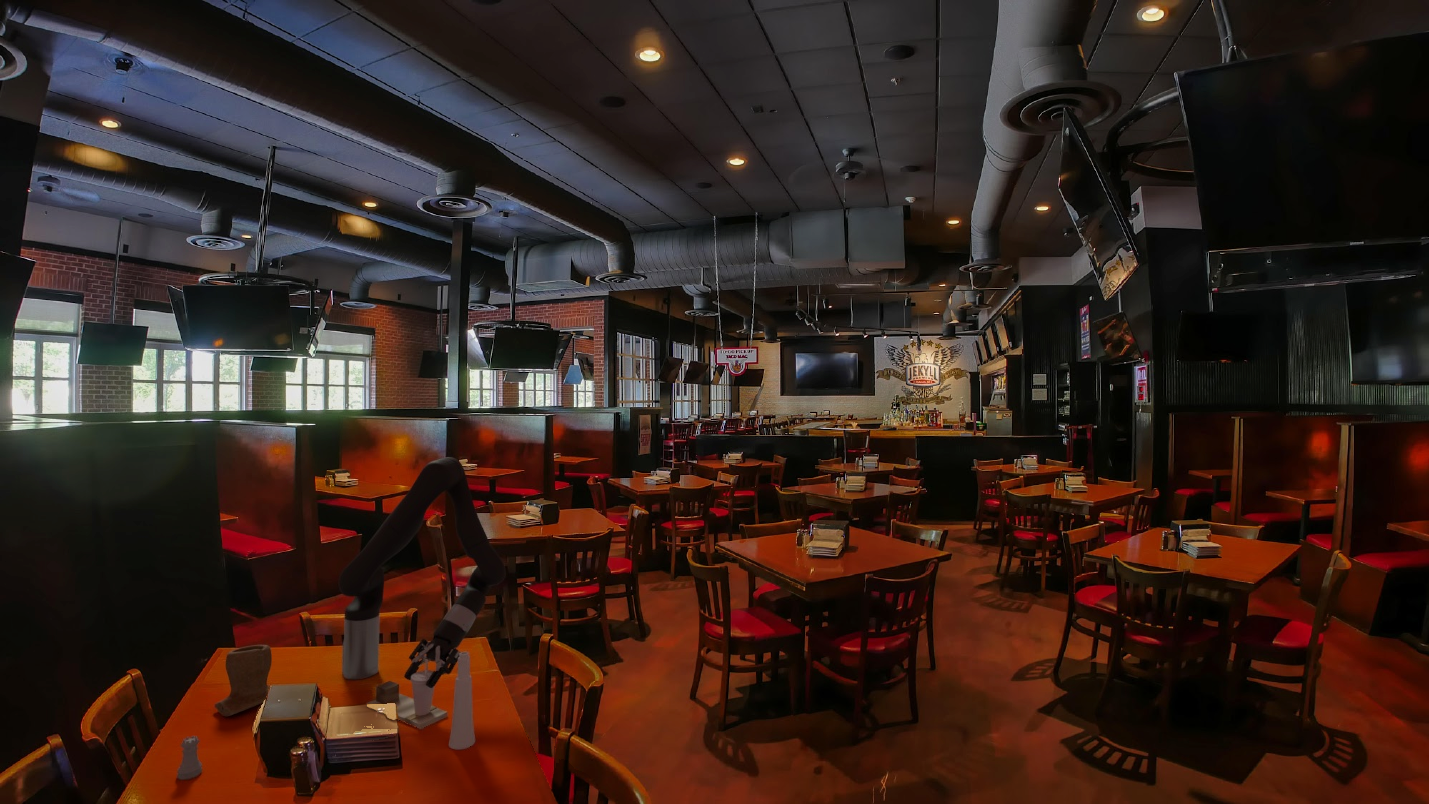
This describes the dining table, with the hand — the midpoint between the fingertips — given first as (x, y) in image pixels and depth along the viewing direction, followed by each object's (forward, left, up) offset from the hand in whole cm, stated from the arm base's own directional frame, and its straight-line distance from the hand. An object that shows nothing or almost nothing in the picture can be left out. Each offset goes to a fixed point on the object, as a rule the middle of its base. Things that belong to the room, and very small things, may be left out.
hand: (417, 682), depth 172 cm
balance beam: (-6, +1, -10) cm, 11 cm away
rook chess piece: (-20, -42, -10) cm, 47 cm away
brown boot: (-45, -19, -10) cm, 50 cm away
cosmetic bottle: (+19, -2, -10) cm, 21 cm away
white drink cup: (0, +2, -8) cm, 9 cm away
